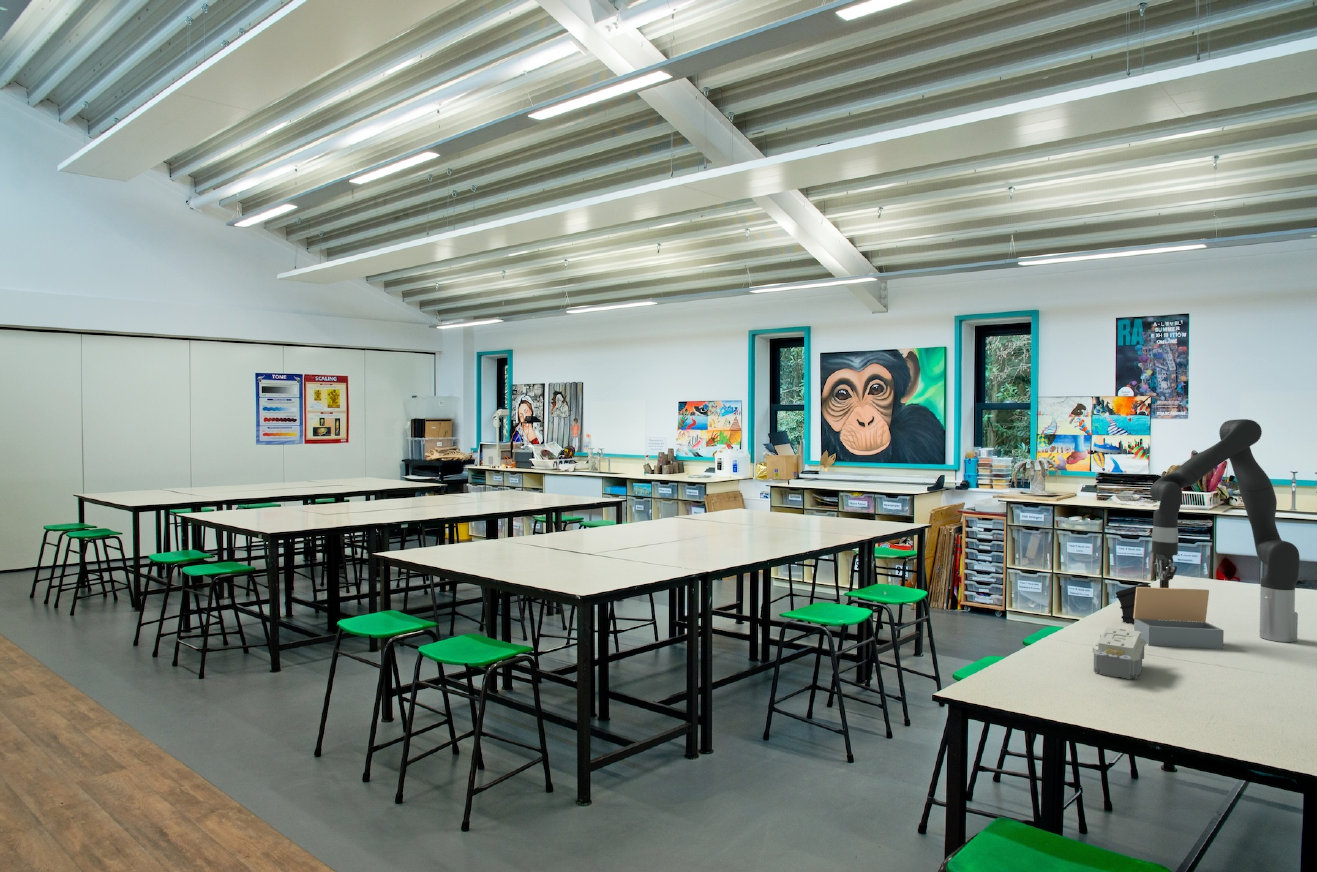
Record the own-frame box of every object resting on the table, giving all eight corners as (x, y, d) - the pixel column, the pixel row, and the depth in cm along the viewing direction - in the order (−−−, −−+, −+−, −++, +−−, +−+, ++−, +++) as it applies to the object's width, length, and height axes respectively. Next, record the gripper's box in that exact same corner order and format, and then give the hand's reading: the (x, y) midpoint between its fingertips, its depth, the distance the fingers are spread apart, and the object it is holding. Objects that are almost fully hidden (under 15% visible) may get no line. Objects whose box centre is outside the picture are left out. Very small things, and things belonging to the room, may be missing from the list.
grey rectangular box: (1205, 640, 269) (1205, 622, 269) (1223, 648, 258) (1223, 630, 258) (1134, 636, 272) (1134, 618, 272) (1148, 645, 261) (1149, 626, 261)
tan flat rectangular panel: (1205, 621, 269) (1204, 620, 270) (1209, 590, 267) (1207, 589, 268) (1134, 618, 272) (1133, 617, 273) (1137, 587, 270) (1136, 586, 271)
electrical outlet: (1147, 660, 242) (1148, 627, 241) (1136, 690, 219) (1137, 654, 218) (1103, 653, 249) (1103, 621, 248) (1088, 682, 226) (1088, 647, 225)
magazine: (1167, 624, 284) (1147, 583, 288) (1128, 634, 291) (1109, 594, 295) (1169, 622, 287) (1148, 581, 291) (1130, 632, 294) (1110, 593, 298)
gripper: (1186, 543, 268) (1185, 595, 268) (1167, 537, 281) (1167, 587, 281) (1161, 542, 269) (1161, 594, 269) (1144, 537, 282) (1143, 586, 282)
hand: (1164, 590), depth 275 cm, fingers closed
